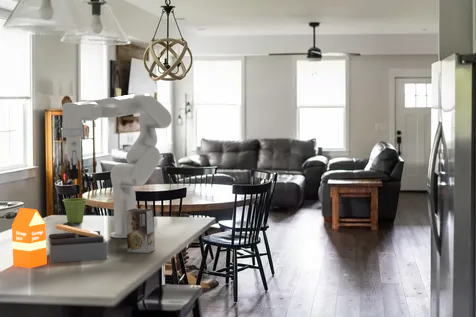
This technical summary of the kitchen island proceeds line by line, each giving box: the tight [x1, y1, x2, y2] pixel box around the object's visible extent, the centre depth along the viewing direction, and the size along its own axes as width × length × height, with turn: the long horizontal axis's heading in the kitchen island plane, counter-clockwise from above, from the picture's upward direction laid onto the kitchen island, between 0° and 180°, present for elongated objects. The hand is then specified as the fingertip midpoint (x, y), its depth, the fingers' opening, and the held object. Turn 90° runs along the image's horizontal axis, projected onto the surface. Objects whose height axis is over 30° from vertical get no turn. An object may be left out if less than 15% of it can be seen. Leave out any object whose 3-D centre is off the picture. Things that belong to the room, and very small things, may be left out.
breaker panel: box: [48, 233, 108, 264], centre depth 246 cm, size 20×16×9 cm
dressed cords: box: [48, 230, 105, 245], centre depth 245 cm, size 19×14×2 cm
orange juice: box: [11, 207, 48, 269], centre depth 233 cm, size 8×9×20 cm
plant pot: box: [62, 198, 88, 224], centre depth 326 cm, size 12×12×11 cm
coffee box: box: [126, 208, 156, 254], centre depth 254 cm, size 9×6×16 cm
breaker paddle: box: [54, 223, 101, 237], centre depth 246 cm, size 16×6×1 cm, turn 108°
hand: (74, 178), depth 266 cm, fingers closed
